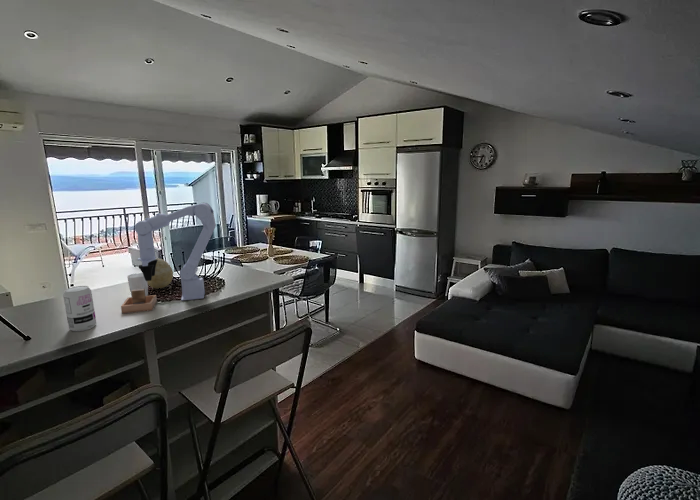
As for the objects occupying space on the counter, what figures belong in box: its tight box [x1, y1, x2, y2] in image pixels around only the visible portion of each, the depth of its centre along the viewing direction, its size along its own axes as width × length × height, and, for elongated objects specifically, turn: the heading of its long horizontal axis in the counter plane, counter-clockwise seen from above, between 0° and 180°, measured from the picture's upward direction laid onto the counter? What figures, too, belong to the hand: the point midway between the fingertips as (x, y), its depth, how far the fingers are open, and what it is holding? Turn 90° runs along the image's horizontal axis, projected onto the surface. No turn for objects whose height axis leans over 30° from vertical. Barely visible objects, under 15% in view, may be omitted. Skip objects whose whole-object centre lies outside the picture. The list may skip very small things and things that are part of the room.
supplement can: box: [62, 285, 97, 332], centre depth 131 cm, size 8×8×15 cm
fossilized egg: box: [148, 257, 174, 290], centre depth 176 cm, size 13×13×15 cm
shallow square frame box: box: [120, 294, 158, 314], centre depth 151 cm, size 11×11×3 cm
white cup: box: [126, 272, 149, 297], centre depth 165 cm, size 8×8×10 cm
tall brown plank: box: [130, 289, 146, 303], centre depth 151 cm, size 4×2×7 cm, turn 109°
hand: (150, 278), depth 158 cm, fingers open, 7 cm apart
